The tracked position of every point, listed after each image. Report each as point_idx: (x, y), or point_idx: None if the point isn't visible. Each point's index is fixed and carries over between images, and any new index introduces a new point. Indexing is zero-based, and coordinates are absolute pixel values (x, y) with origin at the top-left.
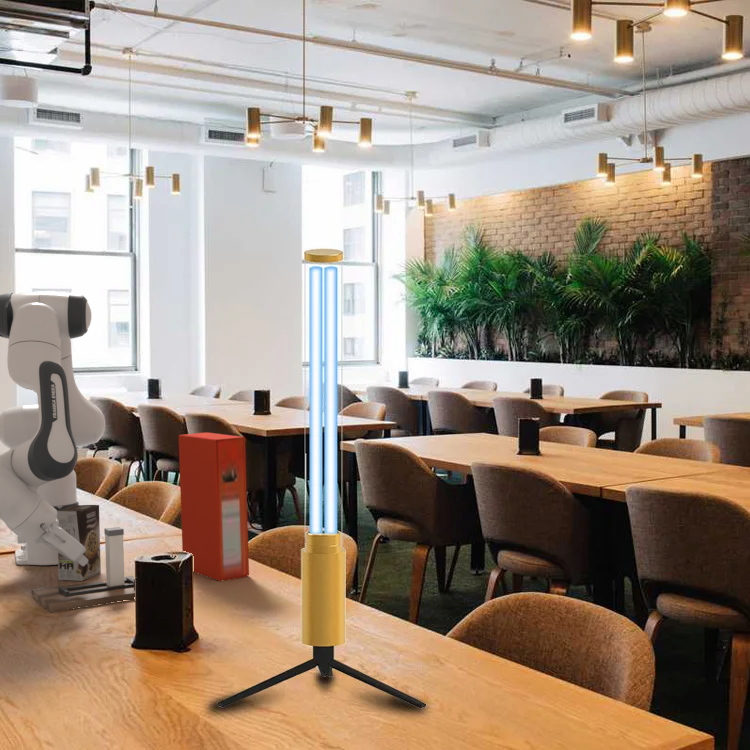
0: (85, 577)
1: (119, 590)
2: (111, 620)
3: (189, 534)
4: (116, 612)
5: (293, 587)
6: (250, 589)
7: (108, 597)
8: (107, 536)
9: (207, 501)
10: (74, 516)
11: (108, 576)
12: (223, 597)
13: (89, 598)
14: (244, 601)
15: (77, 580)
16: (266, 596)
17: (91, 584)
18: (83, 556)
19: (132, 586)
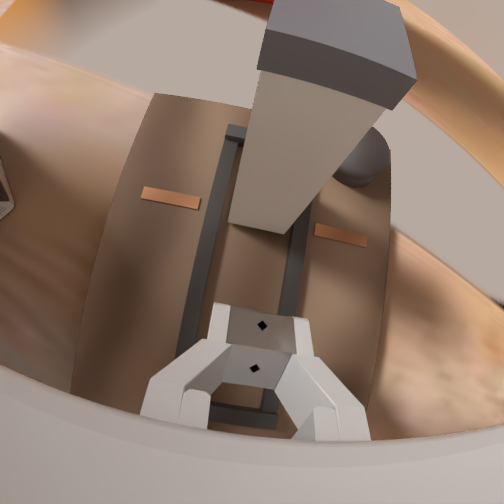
0: (8, 190)
1: (337, 231)
2: (493, 366)
3: None
4: (455, 328)
5: (429, 16)
6: (414, 38)
7: (382, 302)
8: (329, 93)
9: None
10: None
11: (265, 215)
12: (449, 93)
13: (361, 365)
14: (483, 100)
15: (1, 217)
16: (465, 65)
17: (197, 273)
18: (312, 353)
19: None
